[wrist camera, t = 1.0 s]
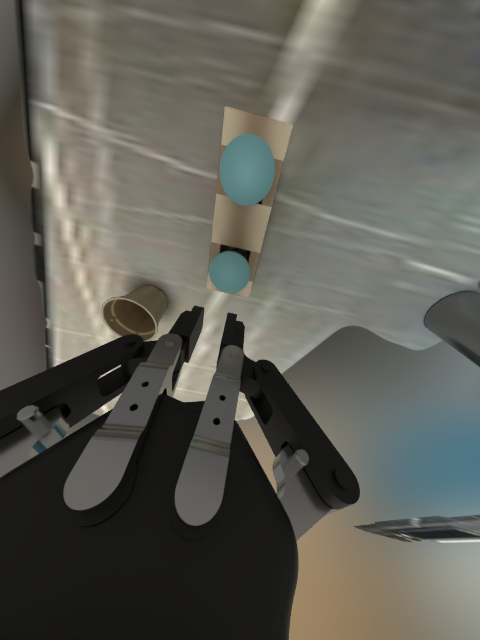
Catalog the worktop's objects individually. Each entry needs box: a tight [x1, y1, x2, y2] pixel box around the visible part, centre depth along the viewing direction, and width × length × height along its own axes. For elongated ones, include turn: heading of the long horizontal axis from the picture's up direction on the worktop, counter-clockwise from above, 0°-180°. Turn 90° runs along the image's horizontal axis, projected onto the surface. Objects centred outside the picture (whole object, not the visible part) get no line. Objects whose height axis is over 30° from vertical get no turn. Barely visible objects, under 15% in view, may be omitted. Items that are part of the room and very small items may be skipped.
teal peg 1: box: [219, 134, 275, 206], centre depth 19 cm, size 5×5×7 cm
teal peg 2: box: [209, 249, 250, 293], centre depth 25 cm, size 5×5×7 cm
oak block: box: [207, 106, 293, 297], centre depth 26 cm, size 7×20×6 cm, turn 169°
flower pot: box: [101, 286, 168, 341], centre depth 34 cm, size 9×9×9 cm
